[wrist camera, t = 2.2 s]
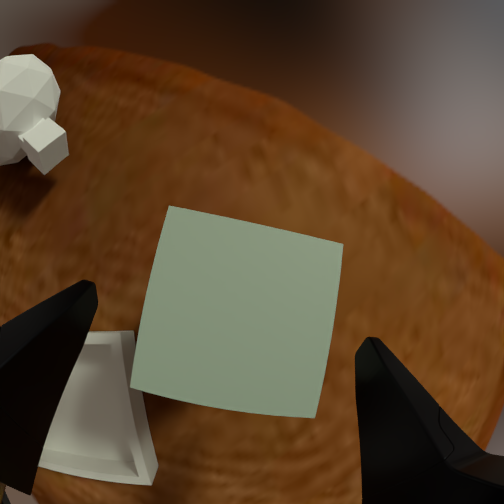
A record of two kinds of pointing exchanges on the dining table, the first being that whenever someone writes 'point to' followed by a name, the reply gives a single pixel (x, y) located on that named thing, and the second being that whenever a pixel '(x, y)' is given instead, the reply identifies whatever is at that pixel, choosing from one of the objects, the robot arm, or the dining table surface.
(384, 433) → the robot arm
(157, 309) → the block
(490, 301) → the dining table surface
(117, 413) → the tray
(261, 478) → the dining table surface
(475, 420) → the dining table surface
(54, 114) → the perfume bottle
